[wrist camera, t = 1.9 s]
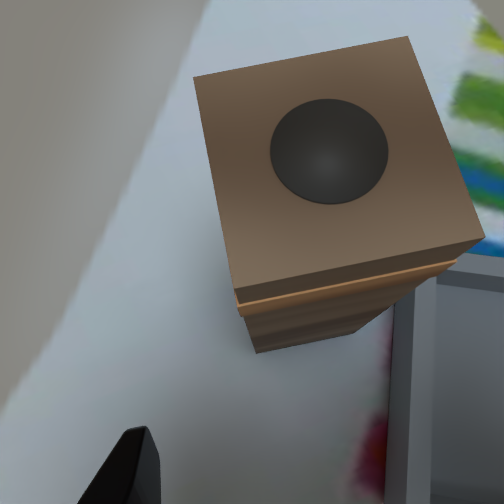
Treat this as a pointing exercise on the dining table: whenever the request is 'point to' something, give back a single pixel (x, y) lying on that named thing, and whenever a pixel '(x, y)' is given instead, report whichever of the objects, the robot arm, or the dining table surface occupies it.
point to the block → (331, 188)
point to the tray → (448, 388)
